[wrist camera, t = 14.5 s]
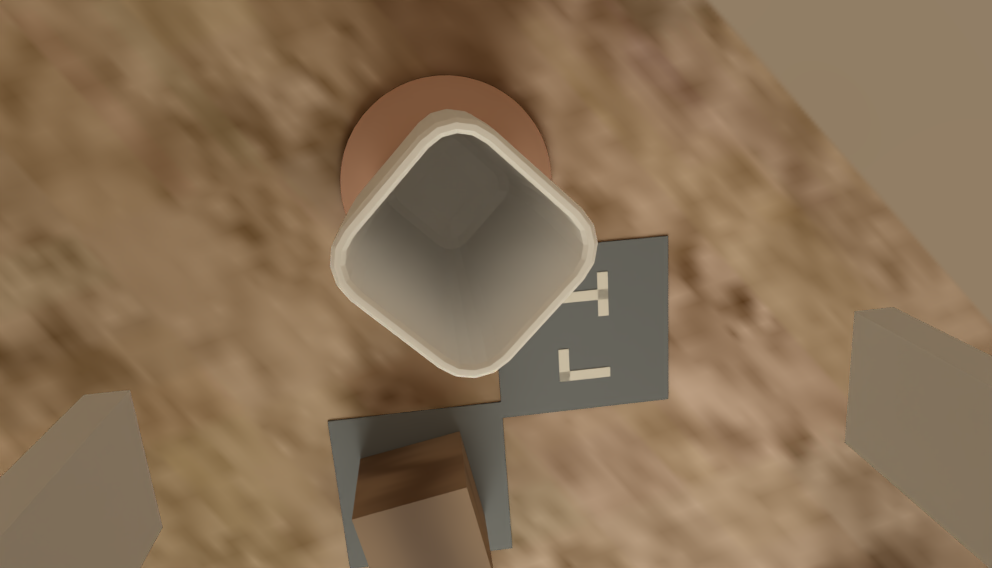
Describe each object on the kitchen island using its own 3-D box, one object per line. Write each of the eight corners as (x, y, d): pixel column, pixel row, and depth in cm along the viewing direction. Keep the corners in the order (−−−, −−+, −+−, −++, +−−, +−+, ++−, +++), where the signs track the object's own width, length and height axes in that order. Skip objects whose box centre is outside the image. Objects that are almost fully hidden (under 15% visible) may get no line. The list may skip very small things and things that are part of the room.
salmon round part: (355, 292, 40) (354, 295, 39) (327, 83, 37) (326, 83, 36) (554, 272, 41) (556, 275, 40) (544, 67, 37) (546, 67, 37)
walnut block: (389, 542, 44) (385, 613, 39) (360, 458, 42) (351, 519, 37) (484, 515, 44) (495, 582, 39) (459, 431, 43) (466, 487, 37)
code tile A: (501, 414, 43) (502, 418, 43) (489, 251, 40) (490, 253, 40) (665, 396, 44) (668, 399, 44) (665, 234, 41) (668, 236, 41)
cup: (438, 83, 37) (454, 93, 22) (544, 177, 38) (620, 242, 24) (346, 193, 38) (306, 269, 23) (454, 279, 40) (477, 398, 25)
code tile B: (350, 564, 45) (350, 569, 45) (328, 418, 42) (327, 422, 42) (511, 544, 46) (512, 548, 45) (500, 399, 43) (501, 402, 42)
